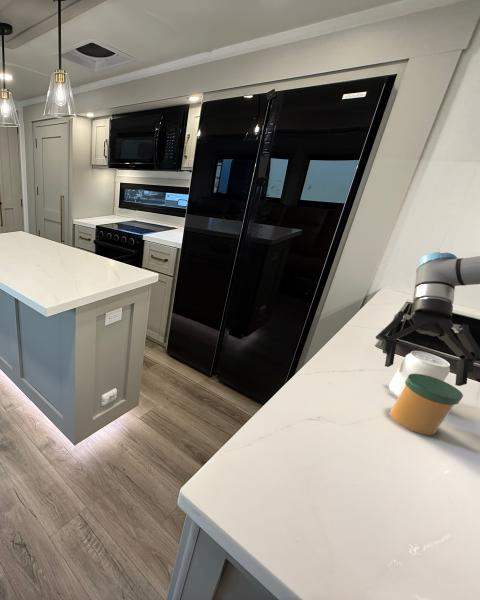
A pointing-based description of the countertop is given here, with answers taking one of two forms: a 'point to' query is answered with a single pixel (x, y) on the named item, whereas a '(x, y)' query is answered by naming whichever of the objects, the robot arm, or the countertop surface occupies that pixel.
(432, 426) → the jar
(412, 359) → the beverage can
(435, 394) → the jar lid
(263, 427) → the countertop surface
